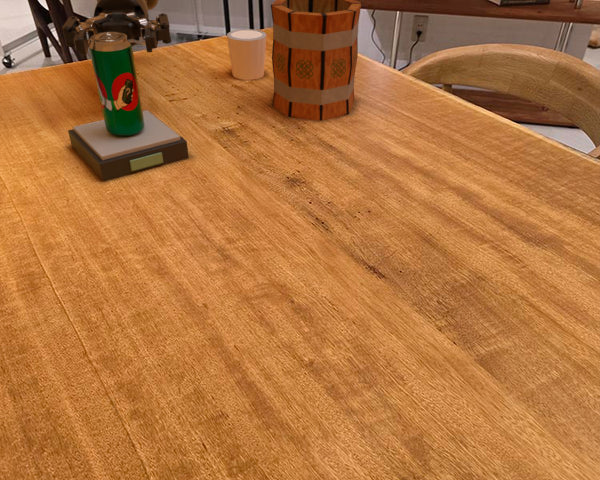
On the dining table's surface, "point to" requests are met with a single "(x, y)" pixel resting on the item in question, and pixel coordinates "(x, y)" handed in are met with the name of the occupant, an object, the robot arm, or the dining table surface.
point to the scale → (127, 147)
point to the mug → (314, 57)
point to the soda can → (117, 83)
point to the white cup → (247, 53)
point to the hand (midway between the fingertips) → (115, 45)
